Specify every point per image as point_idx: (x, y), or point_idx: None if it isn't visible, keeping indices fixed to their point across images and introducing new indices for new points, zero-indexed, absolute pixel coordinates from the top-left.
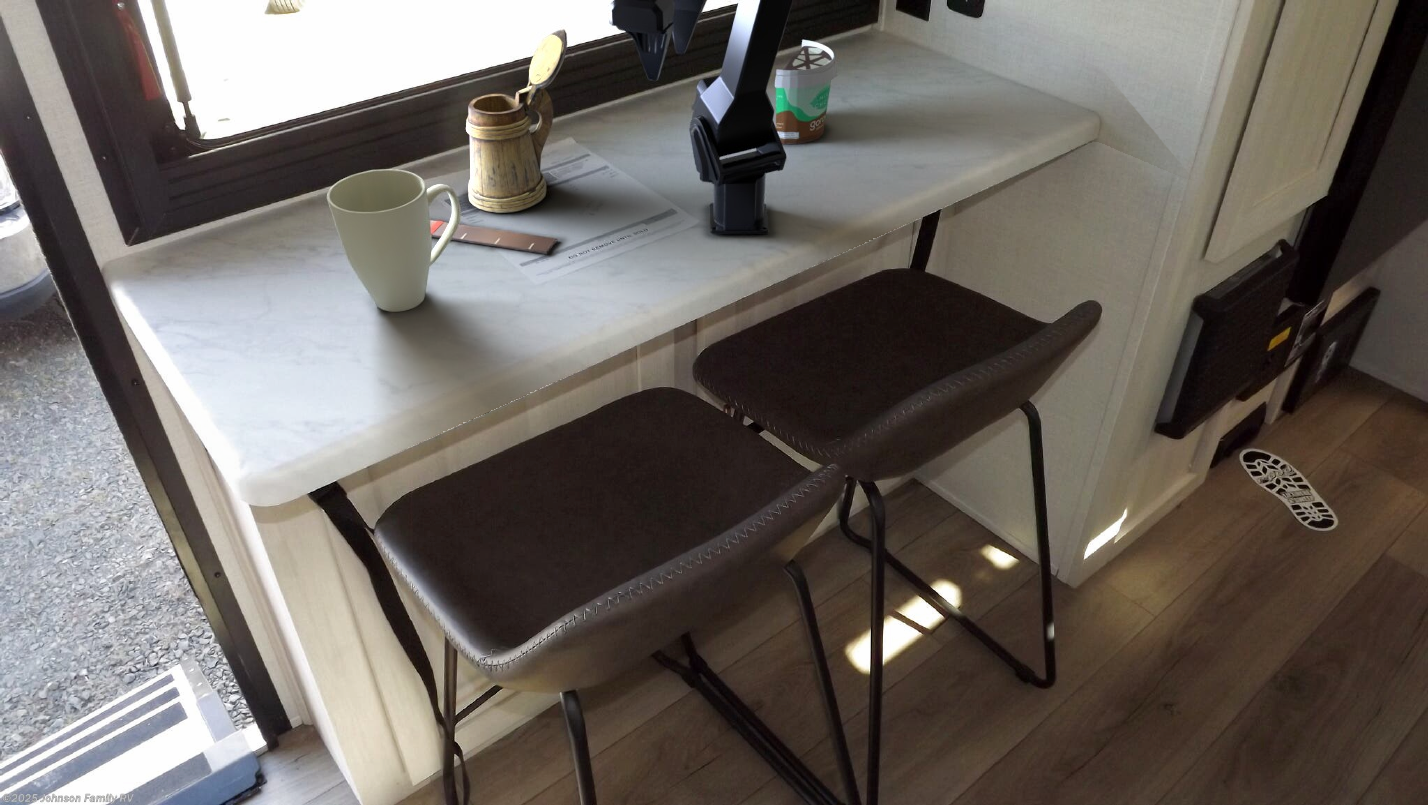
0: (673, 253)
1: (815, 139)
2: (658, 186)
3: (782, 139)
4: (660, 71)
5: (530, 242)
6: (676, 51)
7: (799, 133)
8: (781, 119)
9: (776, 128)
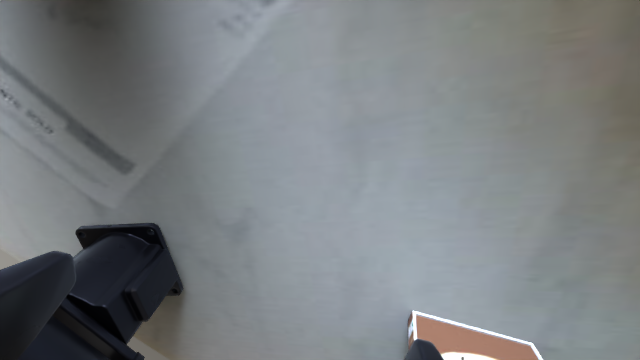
0: (8, 179)
1: None
2: (207, 133)
3: (408, 325)
4: (41, 325)
5: None
6: (415, 344)
7: None
8: None
9: (413, 334)
